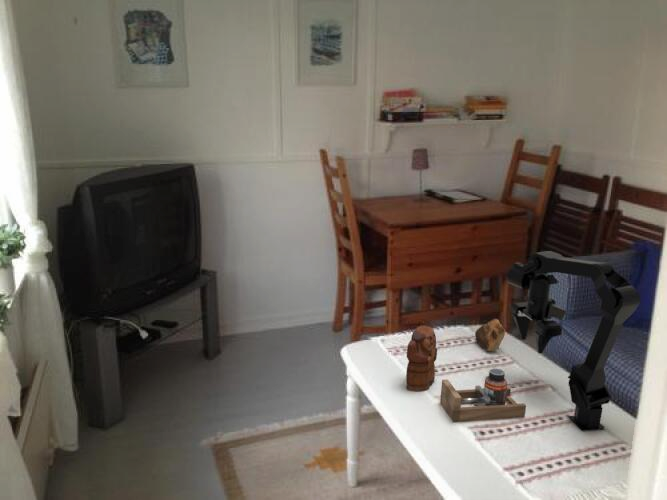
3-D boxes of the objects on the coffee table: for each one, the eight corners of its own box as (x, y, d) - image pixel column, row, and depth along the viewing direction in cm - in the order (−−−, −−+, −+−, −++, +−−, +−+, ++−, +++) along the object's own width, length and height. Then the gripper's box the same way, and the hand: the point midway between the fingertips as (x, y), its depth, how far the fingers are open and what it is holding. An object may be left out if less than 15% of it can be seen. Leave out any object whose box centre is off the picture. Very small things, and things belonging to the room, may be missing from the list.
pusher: (488, 414, 158) (490, 397, 157) (466, 416, 157) (467, 399, 156) (477, 401, 165) (479, 385, 163) (456, 403, 164) (458, 386, 162)
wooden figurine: (422, 395, 168) (427, 336, 163) (402, 389, 171) (406, 331, 167) (438, 379, 178) (443, 323, 173) (418, 373, 181) (423, 318, 176)
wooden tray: (524, 417, 159) (527, 393, 157) (453, 422, 155) (455, 398, 153) (507, 398, 168) (510, 376, 166) (440, 402, 165) (442, 379, 163)
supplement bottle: (502, 404, 165) (506, 367, 162) (506, 415, 159) (510, 377, 156) (480, 402, 165) (484, 365, 162) (483, 414, 160) (487, 375, 157)
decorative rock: (504, 354, 196) (508, 324, 193) (487, 356, 195) (491, 325, 192) (487, 339, 207) (490, 310, 205) (471, 341, 206) (474, 311, 203)
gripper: (584, 305, 160) (575, 358, 164) (546, 283, 178) (539, 331, 182) (546, 307, 158) (539, 361, 162) (512, 284, 175) (506, 333, 180)
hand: (531, 346), depth 171 cm, fingers open, 9 cm apart
